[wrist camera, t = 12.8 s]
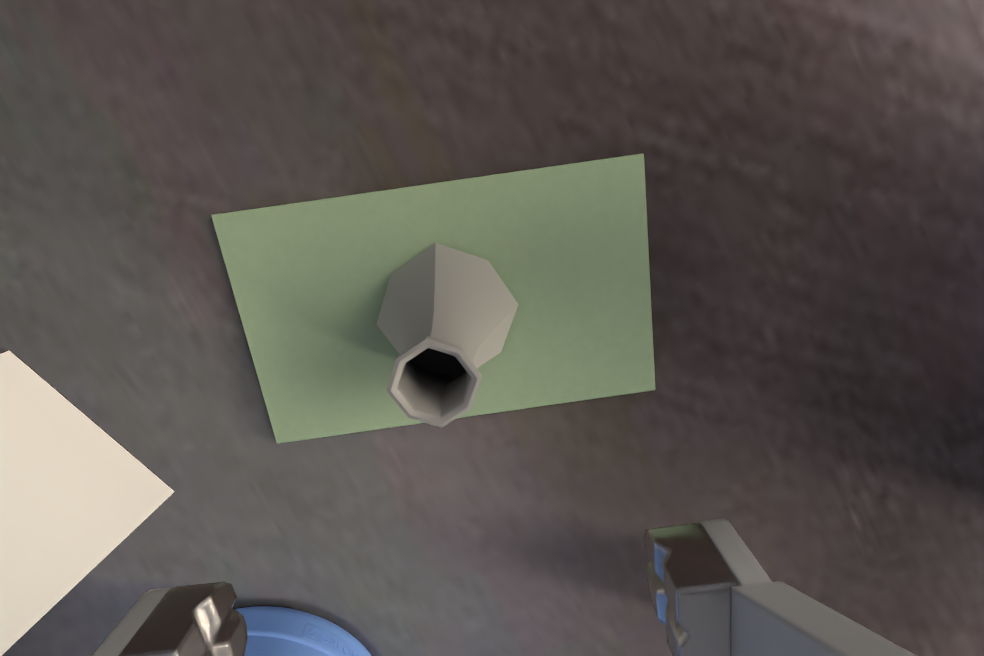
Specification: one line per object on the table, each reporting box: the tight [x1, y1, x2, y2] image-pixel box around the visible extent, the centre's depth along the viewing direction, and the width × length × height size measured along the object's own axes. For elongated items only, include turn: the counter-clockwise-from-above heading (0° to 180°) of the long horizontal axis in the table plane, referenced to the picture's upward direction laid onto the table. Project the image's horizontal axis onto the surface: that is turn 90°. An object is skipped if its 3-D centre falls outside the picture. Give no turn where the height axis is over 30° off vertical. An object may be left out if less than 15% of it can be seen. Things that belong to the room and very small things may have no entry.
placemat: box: [211, 153, 655, 443], centre depth 28 cm, size 22×13×1 cm, turn 98°
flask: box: [376, 243, 518, 427], centre depth 23 cm, size 7×7×10 cm
